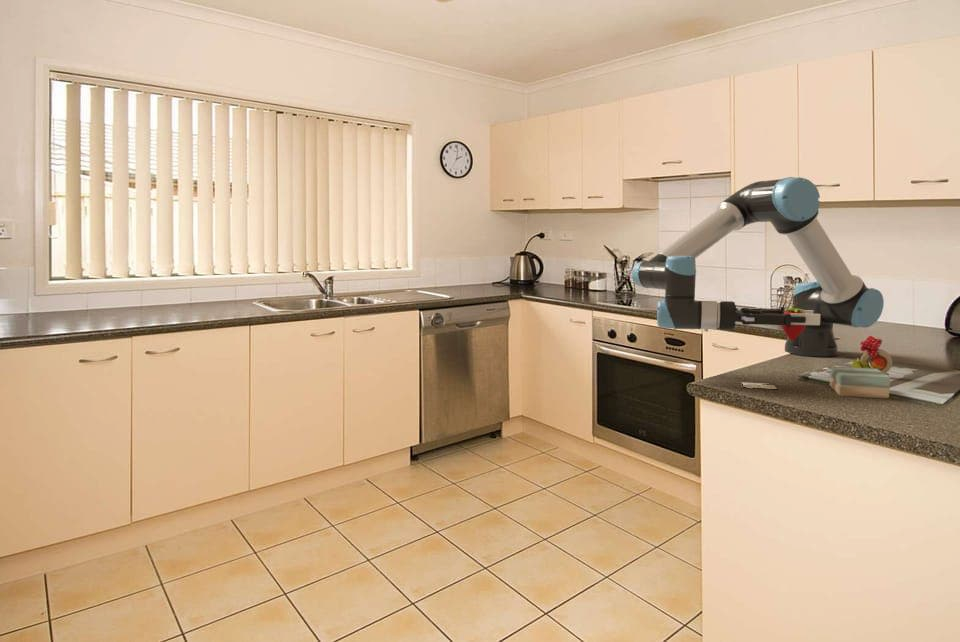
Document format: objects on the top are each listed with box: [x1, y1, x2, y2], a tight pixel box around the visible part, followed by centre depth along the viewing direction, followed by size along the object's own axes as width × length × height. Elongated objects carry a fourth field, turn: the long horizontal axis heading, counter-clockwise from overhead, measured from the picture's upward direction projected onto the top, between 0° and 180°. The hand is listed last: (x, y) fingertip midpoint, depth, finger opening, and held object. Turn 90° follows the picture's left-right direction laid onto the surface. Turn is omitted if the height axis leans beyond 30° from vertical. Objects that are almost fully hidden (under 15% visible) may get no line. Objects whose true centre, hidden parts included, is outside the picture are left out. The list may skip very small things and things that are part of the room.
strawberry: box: [780, 304, 806, 341], centre depth 155 cm, size 6×8×10 cm
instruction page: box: [740, 381, 767, 387], centre depth 154 cm, size 6×8×1 cm
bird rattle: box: [851, 335, 893, 374], centre depth 164 cm, size 6×11×9 cm
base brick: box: [829, 366, 891, 399], centre depth 148 cm, size 10×10×5 cm
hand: (816, 317), depth 153 cm, fingers closed on strawberry, 7 cm apart
